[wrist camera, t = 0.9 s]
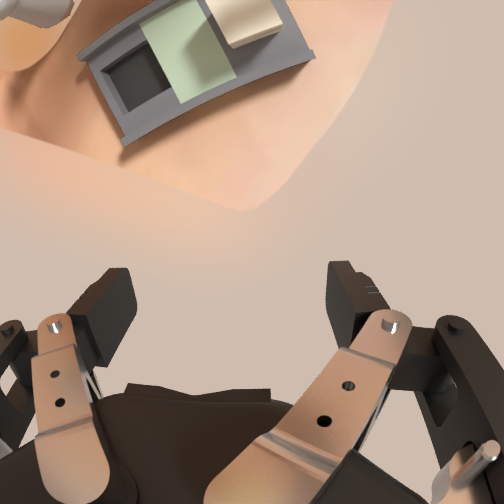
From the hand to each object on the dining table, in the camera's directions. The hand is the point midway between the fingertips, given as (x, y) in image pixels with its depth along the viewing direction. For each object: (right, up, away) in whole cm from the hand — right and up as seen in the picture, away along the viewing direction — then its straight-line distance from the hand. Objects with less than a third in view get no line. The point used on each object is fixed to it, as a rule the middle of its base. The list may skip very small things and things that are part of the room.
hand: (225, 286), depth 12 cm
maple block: (0, +24, +12) cm, 27 cm away
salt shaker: (-23, +32, +10) cm, 41 cm away
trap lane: (-5, +23, +15) cm, 28 cm away
